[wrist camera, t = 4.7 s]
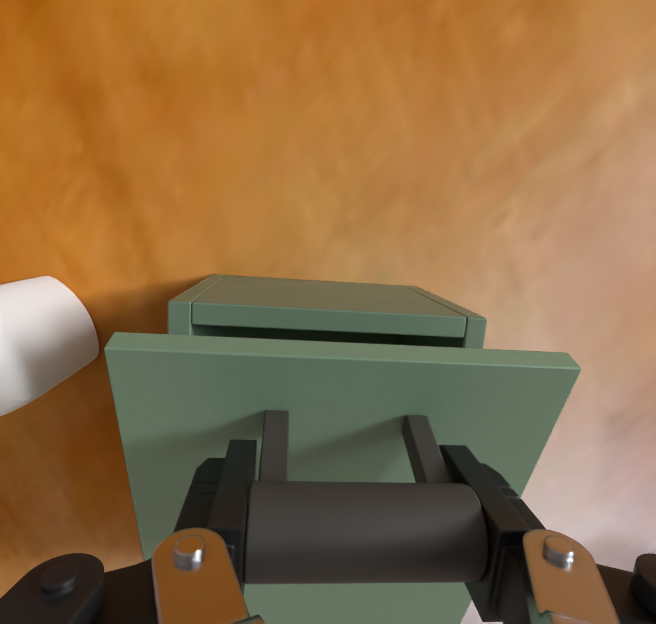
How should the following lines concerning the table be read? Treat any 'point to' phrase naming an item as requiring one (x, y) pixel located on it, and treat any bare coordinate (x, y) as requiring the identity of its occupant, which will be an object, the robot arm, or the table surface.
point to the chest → (322, 313)
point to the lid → (337, 460)
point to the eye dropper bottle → (41, 339)
